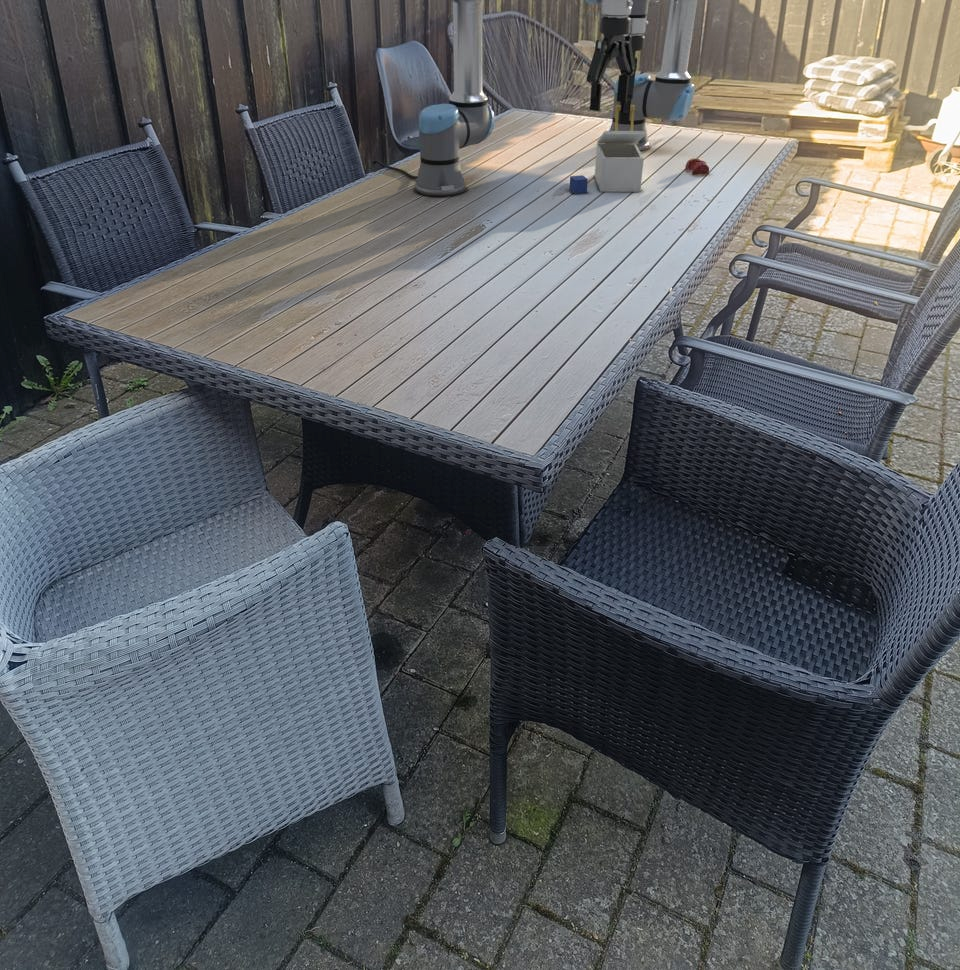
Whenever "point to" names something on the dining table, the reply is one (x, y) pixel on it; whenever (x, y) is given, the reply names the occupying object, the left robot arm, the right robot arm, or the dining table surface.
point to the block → (578, 184)
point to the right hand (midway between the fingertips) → (623, 122)
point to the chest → (618, 167)
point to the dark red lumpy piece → (697, 166)
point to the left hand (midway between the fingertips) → (608, 106)
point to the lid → (622, 132)
